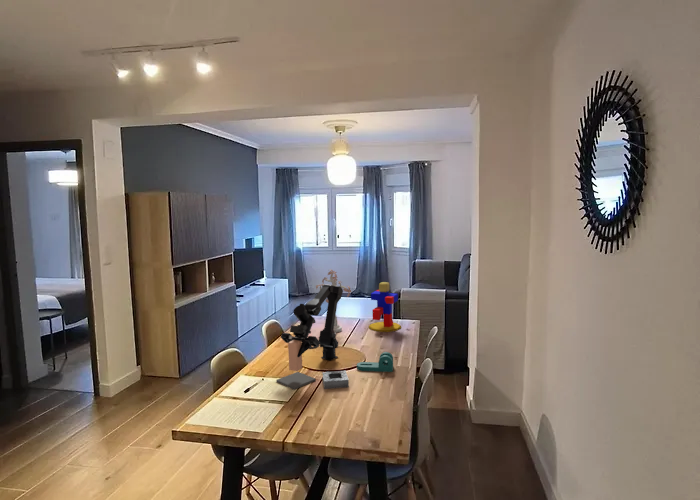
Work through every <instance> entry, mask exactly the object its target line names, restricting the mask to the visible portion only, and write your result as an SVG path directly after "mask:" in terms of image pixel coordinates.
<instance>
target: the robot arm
mask: <svg viewBox="0 0 700 500" xmlns="http://www.w3.org/2000/svg"><path fill="white" fill-rule="evenodd" d="M323 284H324V283H323ZM343 289H344V288H341V287H340V285H337V286H333V285H332V284H328V283H326V284H324V285H323V286H322V285H321V290H320V289H319V291H318V292H317V294H315V297H314V298H312V299H311V300H308V302H306V303H305V304H304V303H300V304H299V305H297V306H296V307H295V308H294V309H293V315H294V316H295V317H296V319H297V320H298V321H299V322H300V323H299V324H297V325H291V324H290V330H289V332H282V333H281V336H280V338H281V340H282V341H284V343H286V344H288V343H289V342H290V341H292V340H298V341H301V347H300V350H299V352H298V355H297V357H300V356H301V355H302V356H303V355H304V353H305V352H306V351H308V350H310V349H309V348H311V347H317V348H319V346H320V348H322V356H321V357H320V358H321V359H322V360H327V361H333V360H335V359H338V356H336V349H338V348H339V341H338V339H336V338H337V335H335V333H336V332H334V330H333V329H334V322H335V315H336V313H337V309H338V302H340V300H341V299H342V297H343V296H342V295H343V294H344V290H343ZM326 299H328V304H327V308H326V309H327V311H326V317H325V321H324V322H325V323H324V328H323V329H322V330H320V332H319V337H318V338H317V337H316V336H314V335H309V334H311V333H312V331H311V329H312V326H313V324H316V319H315V317H314V316H316V317H317V316H319V314H320V313H321V311H322V305H323V304H324V302H326ZM336 316H337V315H336ZM291 333H292V334H291ZM311 345H312V346H311Z"/></svg>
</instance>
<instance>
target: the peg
mask: <svg viewBox="0 0 700 500" xmlns="http://www.w3.org/2000/svg"><path fill="white" fill-rule="evenodd" d="M301 343H302V342H301V341H298V340H292V341H290V342H289V343H287V347H288V348H287V349H288V370H289V371H293V372H299V371H301V370H302V369H303V354H302V355H301V356H300V357H297V355H298V352H299V350H300V347H301Z"/></svg>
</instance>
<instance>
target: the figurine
mask: <svg viewBox="0 0 700 500" xmlns="http://www.w3.org/2000/svg"><path fill="white" fill-rule="evenodd" d="M390 289H391V288H390V282H388V281H387V282H386V281H382V282H380V283H379V284H378V289H376V290H375V291H373V292H371V293H370V300H371V301H376V304H377V305H376V307H374V308H373V309H372V320H374V321H379V322H373V323H371V324H369V325H368V329H369V330H371V331H372V332H377V333H378V332H379V333H393V332H397V331H400V330H401V329H402V326H401V325H400V324H399V323H397V322H394V321H393V304H395V303H397V302H398V301H399V293H392V292H391V293H389V292H390ZM382 316H383V321H381V318H382Z"/></svg>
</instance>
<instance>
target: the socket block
mask: <svg viewBox="0 0 700 500" xmlns="http://www.w3.org/2000/svg"><path fill="white" fill-rule="evenodd" d="M321 375H322V382H323V389H324V390H330V389H342V388H344V389H345V388H349V386H350V385H349V383H350V382H349V380H350V379H349V377H348V372H347V370H336V371H335V370H334V371H325V372H324V371H323V372H322V374H321Z"/></svg>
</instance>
